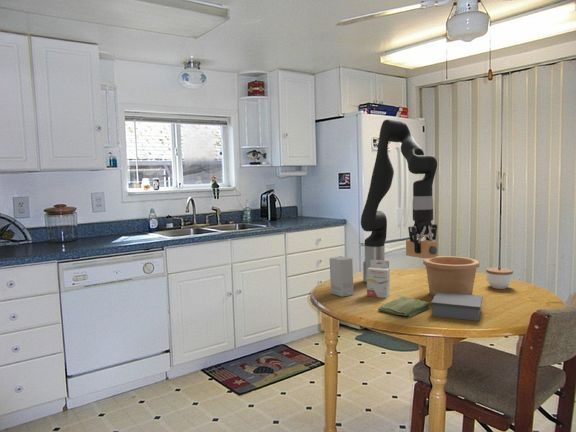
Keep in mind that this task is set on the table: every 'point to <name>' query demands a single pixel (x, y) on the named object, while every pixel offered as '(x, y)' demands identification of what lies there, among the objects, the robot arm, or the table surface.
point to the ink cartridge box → (378, 279)
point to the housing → (422, 249)
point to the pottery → (451, 274)
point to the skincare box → (341, 276)
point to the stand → (457, 305)
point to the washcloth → (404, 307)
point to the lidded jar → (499, 277)
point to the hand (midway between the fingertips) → (423, 252)
